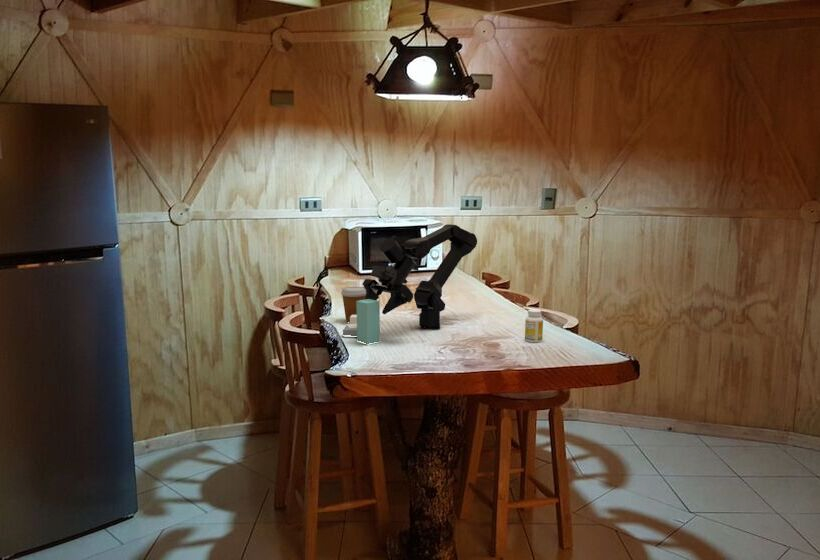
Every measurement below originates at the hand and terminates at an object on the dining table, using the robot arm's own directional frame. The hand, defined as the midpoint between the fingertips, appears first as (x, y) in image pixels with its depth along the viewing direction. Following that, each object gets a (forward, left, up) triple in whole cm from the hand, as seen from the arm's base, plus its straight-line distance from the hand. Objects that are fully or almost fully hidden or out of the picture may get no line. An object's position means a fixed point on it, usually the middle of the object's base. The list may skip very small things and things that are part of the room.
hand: (373, 311), depth 193 cm
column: (+1, +2, -9) cm, 10 cm away
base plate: (+7, -10, -9) cm, 16 cm away
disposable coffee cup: (+10, -25, -10) cm, 29 cm away
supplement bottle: (-50, -4, -10) cm, 51 cm away
